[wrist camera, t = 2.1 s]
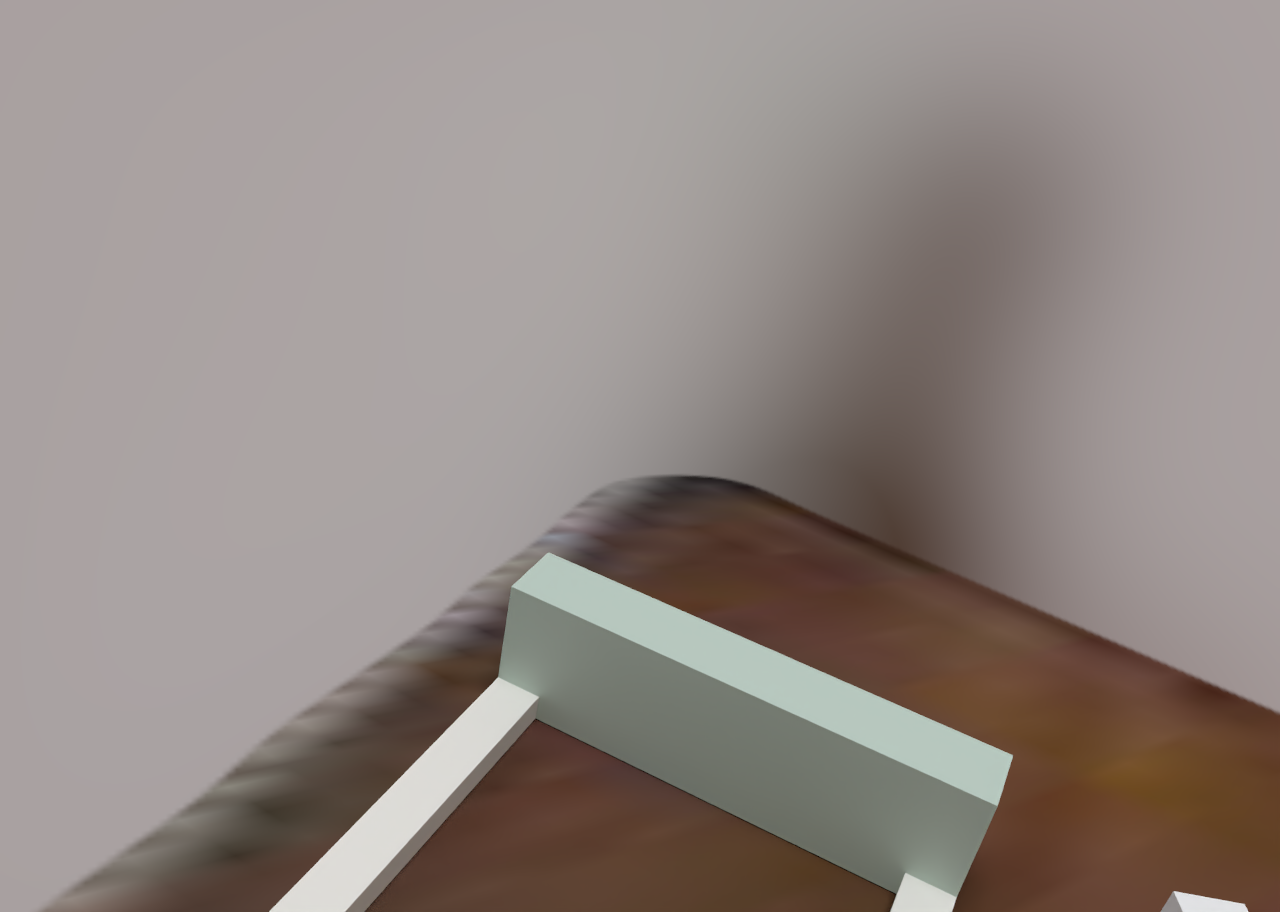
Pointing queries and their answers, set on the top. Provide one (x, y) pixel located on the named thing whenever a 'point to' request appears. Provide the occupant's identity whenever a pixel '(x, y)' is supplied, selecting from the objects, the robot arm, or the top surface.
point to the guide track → (693, 745)
